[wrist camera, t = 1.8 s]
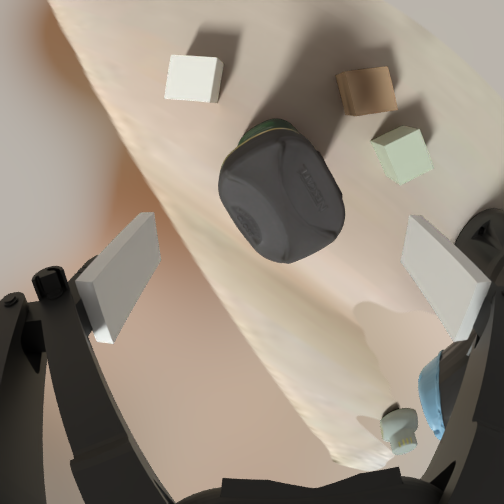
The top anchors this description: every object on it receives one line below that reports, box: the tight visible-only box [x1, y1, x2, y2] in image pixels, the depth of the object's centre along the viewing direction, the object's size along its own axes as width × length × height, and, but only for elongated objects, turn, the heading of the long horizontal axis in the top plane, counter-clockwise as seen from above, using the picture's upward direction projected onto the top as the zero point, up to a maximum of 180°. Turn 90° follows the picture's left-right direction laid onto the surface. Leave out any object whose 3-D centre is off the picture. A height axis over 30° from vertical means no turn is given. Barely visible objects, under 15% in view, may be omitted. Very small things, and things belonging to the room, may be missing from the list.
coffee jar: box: [218, 119, 345, 264], centre depth 28 cm, size 10×8×19 cm
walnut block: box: [335, 66, 398, 116], centre depth 30 cm, size 5×5×5 cm
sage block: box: [371, 125, 434, 186], centre depth 32 cm, size 5×5×5 cm
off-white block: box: [164, 55, 224, 103], centre depth 30 cm, size 5×5×5 cm
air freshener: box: [380, 408, 418, 455], centre depth 55 cm, size 11×8×10 cm
